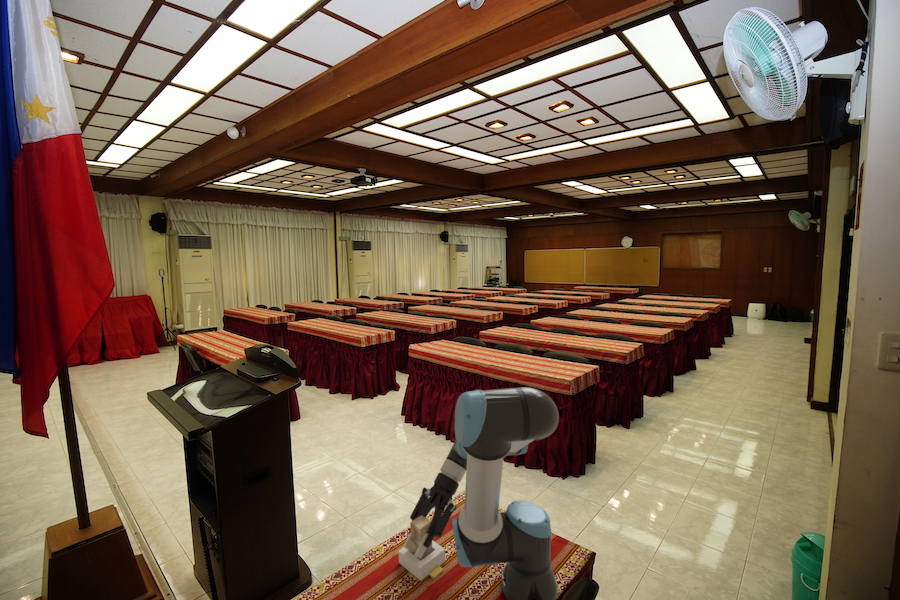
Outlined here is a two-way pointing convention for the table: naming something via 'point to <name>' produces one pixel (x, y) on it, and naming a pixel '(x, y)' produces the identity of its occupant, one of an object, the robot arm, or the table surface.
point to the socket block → (423, 562)
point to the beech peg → (419, 534)
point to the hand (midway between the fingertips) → (411, 552)
